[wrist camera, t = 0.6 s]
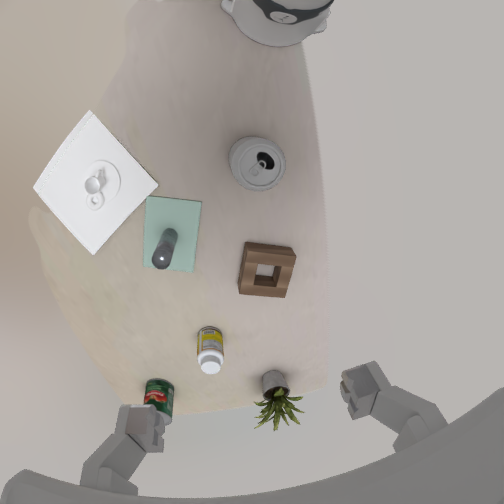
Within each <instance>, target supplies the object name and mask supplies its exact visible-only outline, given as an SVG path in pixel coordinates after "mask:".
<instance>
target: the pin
mask: <svg viewBox="0 0 504 504" xmlns="http://www.w3.org/2000/svg"><path fill="white" fill-rule="evenodd" d="M177 240H178V233H177V232H176V230H174V229H172V228H168V229H166V230H164V231H163V233H162V236H161V238H160V240H159V242H158V244H157V247H156V249H155V251H154V253H153V256H152V264H153V265H154V266H155V267H156V268H158V269H166V268H168V267H169V265H170V263H171V260H172V256H173V253H174V249H175V246H176V243H177Z"/></svg>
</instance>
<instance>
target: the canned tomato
mask: <svg viewBox="0 0 504 504" xmlns="http://www.w3.org/2000/svg"><path fill="white" fill-rule="evenodd" d="M173 397H174V386H173V385H172V384H171V383H170V382H168V381H166V380H163V379H151V380H149V381H148V382H147V384H146V391H145V397H144V404H143V405H149V404H153V405H154V406H155V407H156V412H158V413H160V414H161V415H162V417H163V419H164V424H165V425H169V424H170V423H171V422H172V411H173Z"/></svg>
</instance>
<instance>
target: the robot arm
mask: <svg viewBox="0 0 504 504" xmlns="http://www.w3.org/2000/svg"><path fill="white" fill-rule="evenodd" d="M333 1H334V0H233V1H229V0H223V1H222V3H221V8H222V9H223V10H224V11H225V12H227V13H228V14H229V15H231V16H232V17H233V19H234V21H235V23H236V24H237V26H238V28H239V29H240V30H241V31H242V32H243V33H244V34H245V35H246V36H248V37H249V38H251V39H252V40H254V41H256V42H259V43H261V44H264V45H269V46H276V47H283V46H290V45H294V44H296V43H299V42H301V41H302V40H304V39H305V38H306V37H307V36H309V35H311V34H315V33H320V32H323V31H324V30H325V29H326V19H327V18H328V16H329V15H330V13H331V12H330V11H329V7H330V6H331V4H332V3H333ZM341 376H342V379H343V381H341V383H340V390H341V394H342V397H343V400H344V401H345V402H346V403H348V411H349V413H350V415H351V418H352V420H355V419H358V418H361V417H364V416H367V415H371V416H372V417H374V418H375V419H377V420H378V421H380V422H381V423H383V424H384V425H386V426H387V427H389V428H390V429H392V430H393V431H395V432H396V433H398V434H399V436H398V437H397V439H396V440H395V442H394V444H393V447H394V449H395V452H396V453H394V454H392V455H390V456H388V457H386V458H383V459H381V460H378V461H376V462H373V463H371V464H368V465H366V466H363V467H360V468H358V469H355V470H352V471H349V472H346V473H343V474H340V475H337V476H333V477H330V478H327V479H324V480H320V481H316V482H312V483H308V484H304V485H300V486H296V487H291V488H286V489H281V490H276V491H270V492H264V493H257V494H250V495H241V496H232V497H217V498H159V497H146V496H138V488H137V486H135V485H134V484H132V483H131V482H129V481H128V480H129V479H130V477H131V476H132V474H133V473H134V471H135V470H136V468H137V467H138V465H139V464H140V463H141V461H142V460H143V458H144V457H145V455H146V453H148V452H149V453H150V452H152V453H153V452H163V448H164V439H163V438H162V437H161V436H162V435H163V434H164V432H165V424H164V419H163V417H162V415H161V414H160V413H158V412H156V407H155V406H154V405H153V404H149V405H121V407H120V409H119V414H118V418H117V423H116V428H115V433H114V434H111V435H110V436H109V437H108V438H107V439H106V440H105V441H104V443H103V444H102V445H101V446H100V447H99V448H98V449H97V450H96V451H95V452H94V453H93V454H92V455H91V456H90V457H89V458H88V459H87V460H86V461H85V462H84V464H83V470H82V475H81V480H80V486H79V485H75V484H71V483H68V482H64V481H60V480H57V479H54V478H51V477H47V476H44V475H41V474H39V473H36V472H33V471H30V470H27V469H24V470H22V471H20V472H19V473H17V474H16V475H15V476H14V477H12V478H11V479H10V480H9V481H8V482H7V483H6V485H5V487H4V489H3V492H2V495H1V499H0V504H504V388H500V389H498V390H497V391H495V392H494V393H493V394H492V395H490V396H489V397H488V398H486V399H485V400H484V401H482V402H481V403H480V404H478V405H477V406H476V407H474V408H473V409H471V410H470V411H468V412H467V413H466V414H464V415H463V416H461V417H460V418H458V419H456V420H455V421H453V422H452V423H450V424H449V425H448V423H447V422H446V420H445V418H444V417H443V415H442V414H441V412H440V411H439V409H438V408H437V406H436V405H435V404H434V403H431V402H429V401H427V400H425V399H422V398H420V397H418V396H416V395H413V394H412V393H409V392H407V391H405V390H403V389H401V388H399V387H397V386H391V384H390V383H389V382H388V380H387V378H386V376H385V375H384V373H383V372H382V370H381V368H380V367H379V365H378V364H377V362H375V361H372V362H369V363H366V364H362V365H360V366H357V367H354V368H351V369H348V370H345V371H343V372H342V375H341Z"/></svg>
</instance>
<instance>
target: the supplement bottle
mask: <svg viewBox="0 0 504 504" xmlns="http://www.w3.org/2000/svg"><path fill="white" fill-rule="evenodd" d="M197 361H198V363H199V364H200V365H201V369H202V371H203V372H205V373H207V374H215V373H217V372H219V371H220V369H221V365H222V364H223V362H224V353H223V340H222V334H221V332H220V331H219V330H218V329H216V328H213V327H207V328H204V329H202V330H201V331H200V332H199V334H198V345H197Z"/></svg>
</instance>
